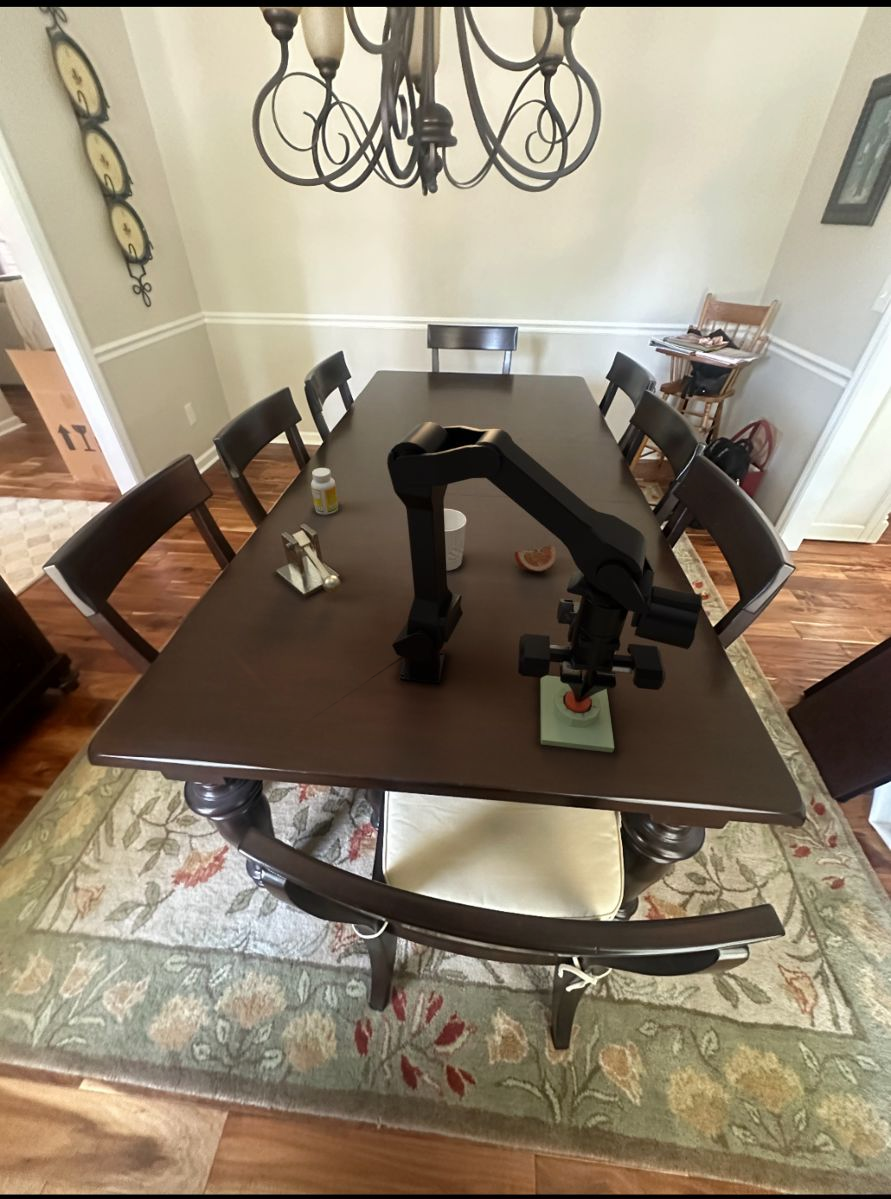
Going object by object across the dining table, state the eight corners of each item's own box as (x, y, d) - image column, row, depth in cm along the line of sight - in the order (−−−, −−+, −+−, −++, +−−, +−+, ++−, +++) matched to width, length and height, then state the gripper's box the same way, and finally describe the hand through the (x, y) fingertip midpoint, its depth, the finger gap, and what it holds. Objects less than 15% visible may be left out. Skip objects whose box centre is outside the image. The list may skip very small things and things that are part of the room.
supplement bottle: (314, 516, 118) (307, 478, 112) (316, 504, 122) (309, 466, 116) (338, 515, 118) (332, 477, 112) (339, 503, 122) (334, 465, 116)
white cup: (461, 575, 102) (462, 533, 95) (422, 570, 103) (421, 528, 96) (467, 552, 108) (469, 511, 101) (431, 547, 109) (430, 506, 102)
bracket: (340, 579, 101) (333, 536, 94) (305, 598, 96) (295, 554, 90) (311, 557, 106) (302, 514, 99) (277, 574, 102) (265, 530, 95)
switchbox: (612, 752, 72) (617, 740, 70) (540, 744, 73) (543, 732, 71) (604, 686, 81) (608, 673, 79) (540, 679, 82) (542, 667, 80)
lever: (342, 590, 96) (345, 583, 94) (327, 598, 95) (330, 591, 92) (302, 536, 98) (305, 527, 95) (288, 543, 96) (290, 534, 94)
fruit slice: (546, 555, 107) (549, 535, 104) (560, 575, 102) (564, 554, 99) (508, 562, 105) (510, 542, 102) (521, 582, 100) (523, 561, 97)
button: (589, 718, 74) (591, 710, 73) (564, 715, 75) (566, 707, 74) (587, 698, 77) (589, 690, 76) (563, 695, 77) (565, 688, 76)
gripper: (664, 587, 70) (635, 664, 80) (525, 575, 71) (515, 652, 82) (682, 646, 61) (647, 724, 72) (524, 631, 63) (512, 709, 73)
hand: (578, 699), depth 75 cm, fingers closed, pressing on button
